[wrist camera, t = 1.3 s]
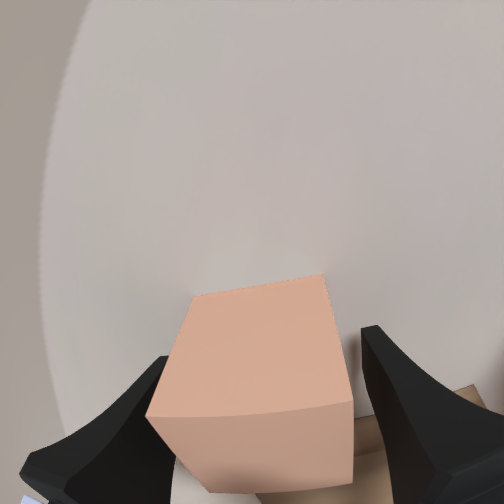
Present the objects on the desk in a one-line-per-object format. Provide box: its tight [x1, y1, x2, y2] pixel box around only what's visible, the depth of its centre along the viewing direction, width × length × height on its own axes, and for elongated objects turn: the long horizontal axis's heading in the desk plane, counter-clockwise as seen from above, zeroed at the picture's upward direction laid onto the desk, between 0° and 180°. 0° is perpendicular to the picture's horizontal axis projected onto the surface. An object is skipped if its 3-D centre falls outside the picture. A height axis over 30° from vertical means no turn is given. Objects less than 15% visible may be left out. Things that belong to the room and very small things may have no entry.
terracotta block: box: [145, 274, 354, 493], centre depth 10 cm, size 5×5×6 cm
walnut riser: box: [255, 384, 487, 504], centre depth 16 cm, size 14×12×2 cm
